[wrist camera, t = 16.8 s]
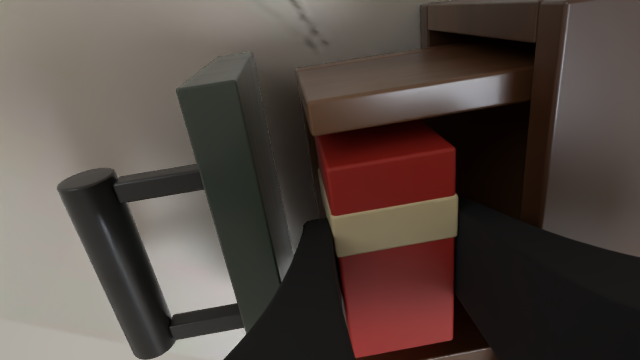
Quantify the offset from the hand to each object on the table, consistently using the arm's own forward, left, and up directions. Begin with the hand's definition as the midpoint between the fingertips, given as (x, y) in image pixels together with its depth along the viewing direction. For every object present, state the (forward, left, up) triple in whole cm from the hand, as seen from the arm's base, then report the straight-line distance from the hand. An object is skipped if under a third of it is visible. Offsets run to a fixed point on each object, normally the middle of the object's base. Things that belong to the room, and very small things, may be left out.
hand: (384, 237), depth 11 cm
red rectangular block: (0, 0, -2) cm, 2 cm away
